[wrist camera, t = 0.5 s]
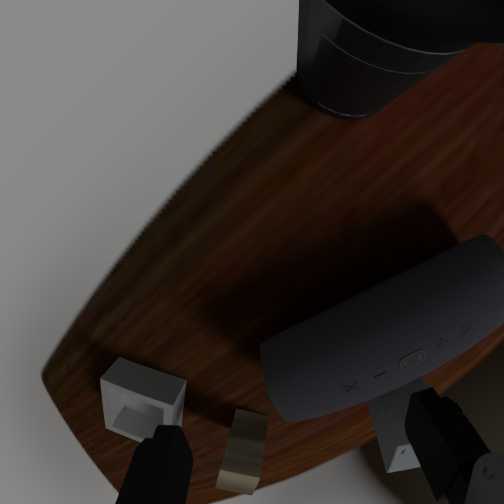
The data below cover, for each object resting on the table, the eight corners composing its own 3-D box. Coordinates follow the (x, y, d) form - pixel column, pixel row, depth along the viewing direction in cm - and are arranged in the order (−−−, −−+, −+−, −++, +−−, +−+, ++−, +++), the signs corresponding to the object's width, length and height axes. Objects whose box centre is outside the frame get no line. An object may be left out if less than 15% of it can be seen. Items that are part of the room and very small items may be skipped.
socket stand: (119, 357, 35) (100, 378, 30) (186, 379, 34) (173, 405, 29) (121, 406, 37) (105, 427, 32) (181, 427, 37) (169, 452, 32)
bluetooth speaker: (299, 383, 33) (299, 448, 23) (261, 317, 31) (249, 374, 22) (477, 296, 28) (526, 335, 18) (459, 220, 26) (517, 240, 17)
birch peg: (236, 408, 35) (220, 469, 25) (268, 415, 34) (260, 477, 25) (230, 428, 36) (215, 487, 26) (261, 435, 35) (252, 495, 26)
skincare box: (365, 398, 32) (384, 474, 21) (370, 369, 31) (395, 446, 20) (411, 393, 31) (441, 463, 20) (418, 365, 30) (456, 434, 19)
